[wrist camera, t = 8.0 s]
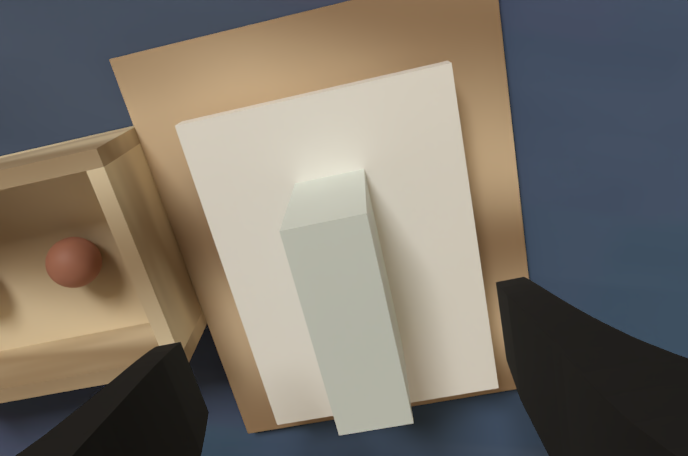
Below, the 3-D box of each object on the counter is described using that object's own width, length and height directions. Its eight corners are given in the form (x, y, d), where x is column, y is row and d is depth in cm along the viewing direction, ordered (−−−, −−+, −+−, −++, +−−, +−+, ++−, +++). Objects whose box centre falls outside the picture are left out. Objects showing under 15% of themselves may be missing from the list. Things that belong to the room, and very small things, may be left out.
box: (209, 317, 19) (185, 369, 17) (-46, 365, 20) (-109, 422, 18) (139, 124, 17) (96, 148, 14) (-150, 190, 18) (-244, 225, 15)
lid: (443, 57, 15) (480, 79, 11) (489, 362, 19) (530, 472, 15) (189, 116, 16) (125, 160, 12) (282, 398, 20) (261, 513, 16)
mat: (537, 378, 20) (540, 385, 20) (250, 425, 21) (248, 433, 21) (490, -34, 15) (494, -35, 15) (114, 58, 16) (109, 59, 16)
